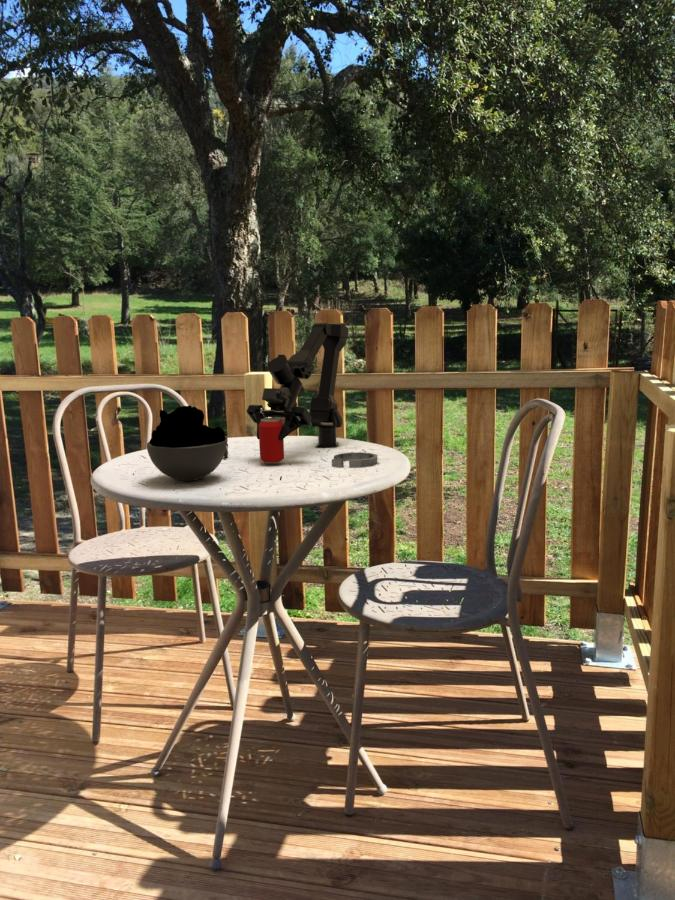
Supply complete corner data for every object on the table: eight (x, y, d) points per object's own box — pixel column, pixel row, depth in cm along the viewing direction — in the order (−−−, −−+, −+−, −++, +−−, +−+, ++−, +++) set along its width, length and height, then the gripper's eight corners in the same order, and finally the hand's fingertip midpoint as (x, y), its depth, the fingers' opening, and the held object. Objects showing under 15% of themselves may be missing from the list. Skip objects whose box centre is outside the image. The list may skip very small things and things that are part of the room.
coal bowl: (220, 469, 206) (216, 400, 203) (236, 484, 188) (232, 408, 184) (144, 476, 199) (140, 405, 196) (154, 492, 181) (148, 413, 178)
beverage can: (286, 459, 215) (284, 417, 213) (282, 463, 209) (280, 420, 206) (262, 459, 216) (260, 417, 214) (258, 464, 209) (255, 421, 207)
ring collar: (334, 459, 217) (334, 452, 217) (377, 458, 216) (377, 452, 216) (331, 467, 205) (331, 460, 205) (377, 467, 204) (377, 459, 204)
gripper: (248, 376, 216) (227, 420, 208) (305, 377, 207) (285, 423, 200) (264, 400, 224) (245, 443, 216) (319, 402, 215) (302, 447, 208)
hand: (268, 439), depth 210 cm, fingers closed on beverage can, 7 cm apart
